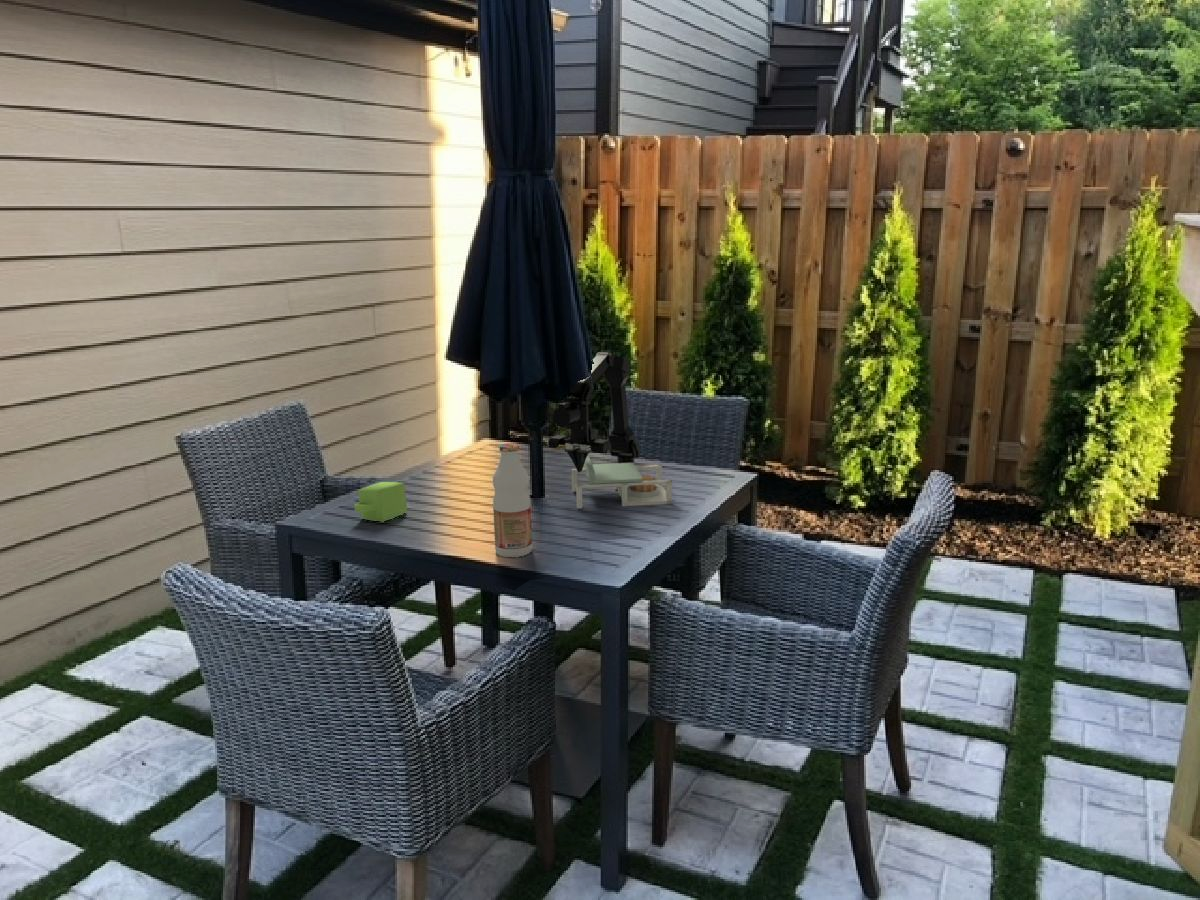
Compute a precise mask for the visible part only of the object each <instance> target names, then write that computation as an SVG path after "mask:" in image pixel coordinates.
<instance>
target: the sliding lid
mask: <svg viewBox="0 0 1200 900" xmlns="http://www.w3.org/2000/svg"><path fill="white" fill-rule="evenodd" d="M636 466H637V465H636V464H635V462H634V463H617V462H616V463H598V464H597V463H595V464H594V463H592V461H591V459H590V455H588V456H587V458H586V460H585V463H584V466H583V468H584V469H585V472H584V473H585V474H586V478H587V480H588V484H591V483H595V484H598V483H619V482H641V481H643V479H642V477H641V475H642V474H641V473H640V472H639V470H637V468H636Z"/></svg>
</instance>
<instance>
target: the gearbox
mask: <svg viewBox="0 0 1200 900" xmlns="http://www.w3.org/2000/svg"><path fill="white" fill-rule="evenodd" d="M357 492H358V503H355V504H353V508H354V512H359V513H360V519H361V518H365V519H371V520H376V521H382V522H381V523H385V522H384V521H386V520H388V519H391V518H393V517H396V516H398V515H401V514H403V513H405V512H407V513H408V505H407V494H406V485H405V483H404V482H396V481H380V482H376V483H374V484H370V485H368V486H365V487H363V488H360V489H358V491H357Z"/></svg>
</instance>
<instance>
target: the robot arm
mask: <svg viewBox="0 0 1200 900" xmlns="http://www.w3.org/2000/svg"><path fill="white" fill-rule="evenodd" d="M592 360H593V362H594V364H592V370H591V374H590V376H589V377H587V378H586V379H583V380H580V381H578V382H577V383H576V384H575V386H574V387H572V388H571V389H570V393H569V394H568V395H570V397H568V395H567V398H564V399H563V400H560V399H561V398H563V397H561V396H560V397H559V399H558V400H559V401H558V408H556V409H555V410H554V412H553V414H552V420H553V423H554V424H555V425H556V426H557V427H558V428H565V427H566V429H568V430H569V431H568V432H569V433H568V434H569V437H568V435H564V434H563V435H562V434H561V435H560V434H556V435H553V436H551V437H549V438H548V440H547V447H548V448H551V449H557V448H559V446H565V449H564V452H565V453H567V454H568V456H569V458H570V459H571V461H572V463H573V466H574V467H575V469H577V471H578V472H577V473H583V472H582V469H583V468H584V463H585V460H586V458H587V456H589V454H590V453H591V452H592V453H597V454H598V453H599V454H603V453H605V452H608V451H609V452H610V456H611V457H616V463H634V464H635V459H636V458H640V456H641V450H642V448H641V447H640V445H639V443H638V442H637V441H636V436H635V432H634V431H633V430H632V428H631V427H630V425H629V414H628V413H629V411H628V404H627V402H628V400H627V390H626V389H627V387H626V383H627V381H628V379H629V377H630V371H631V363H630V361H629V359H627V358H626V357H621V356H617V354H616V355H615V354H614V353H611V352H608V351H606V352H605V351H604V352H603V351H599V352H596V354H595V356H594V358H592ZM602 375H603V379H604V380H605V381H606V383H607V384H608V385H609V389H610V401H611V412H612V422H613V425H612V426H613V429H612V431H611V433H609V435H608V439H601V438H598V435H599V429H597V428H593V427H592V423H591V422H589V404H591V403H592V402H591V400H590V399H589V398H590V396H591V395H592V392H593V391H594V386H593V385H594V384H595V382H596V381H597V380H598V379H599V378H600V377H601V376H602ZM591 376H592V379H591ZM588 378H589V380H588ZM590 381H591V384H590ZM571 397H573V398H571ZM564 400H565V401H564ZM560 401H562V402H560ZM592 440H594V441H592Z"/></svg>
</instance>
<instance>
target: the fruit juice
mask: <svg viewBox="0 0 1200 900" xmlns="http://www.w3.org/2000/svg"><path fill="white" fill-rule="evenodd" d="M519 452H520V445H519V444H518V443H512V442H511V443H503V444H500V445H499V453H500V458H499V462H498V465H497V467H496V470H495V472H494V473H493V476H492V486H493V488H494V495H493V498H492V509H493V511H492V512H493V528H494V529H493V531H494V549H495V553H496V555H498V556H499V555H500V557H502V556H504V557H503V558H507V557H516V558H520V557H519V556H522V557H524V555H526V556H527V554H528V555H529V553H530V552H532V551H533V533H532V530H533V529H532V509H531V508H532V505H531V504H532V503H531V496H530V493H529V489H528V488H529V484H530V477H529V474H528V472H527V470H526V469H525V468H524V466H523V464H522V462H521V459H520V458H521V457H520V456H519ZM530 554H531V553H530Z"/></svg>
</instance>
